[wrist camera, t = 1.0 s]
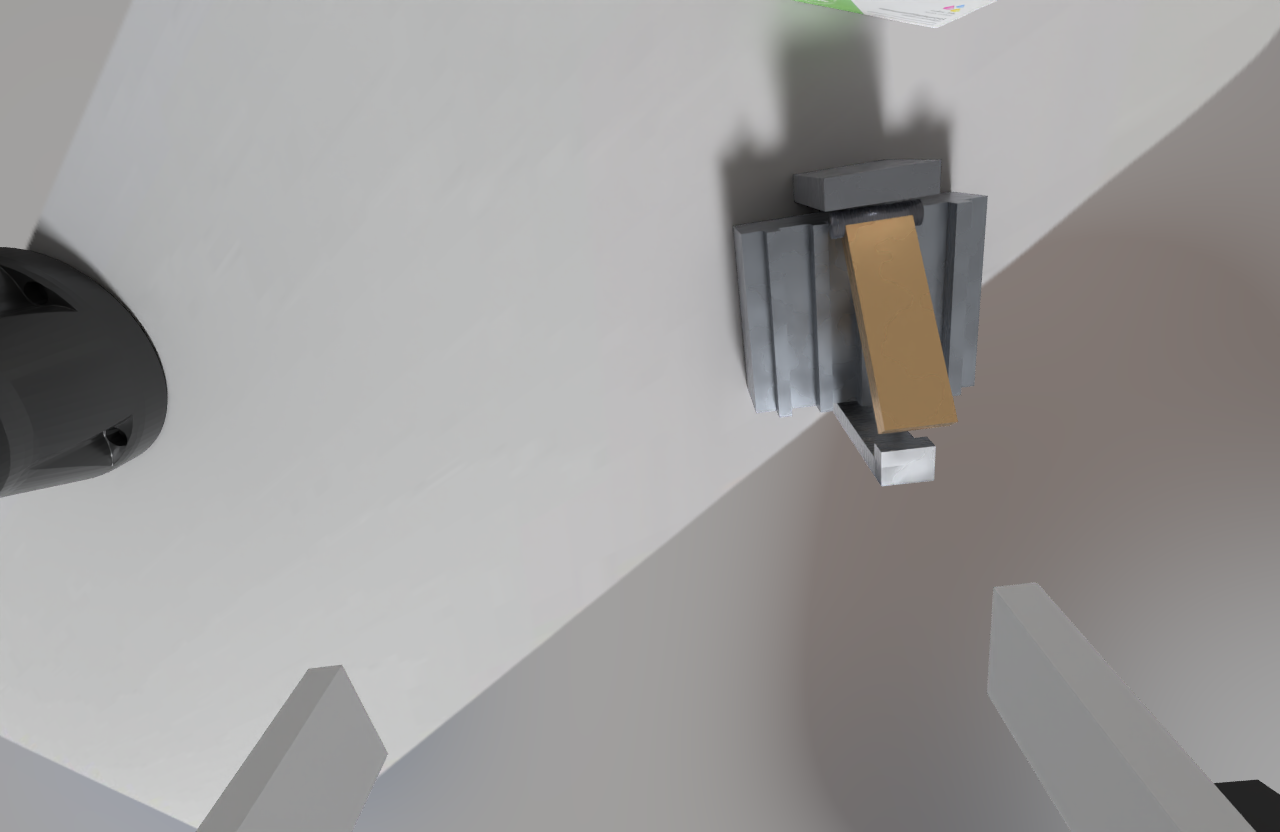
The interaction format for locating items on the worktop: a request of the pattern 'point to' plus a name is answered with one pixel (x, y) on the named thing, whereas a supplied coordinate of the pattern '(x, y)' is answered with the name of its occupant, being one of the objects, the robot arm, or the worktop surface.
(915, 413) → the strap
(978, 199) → the heatsink
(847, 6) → the ink box
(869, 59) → the worktop surface
